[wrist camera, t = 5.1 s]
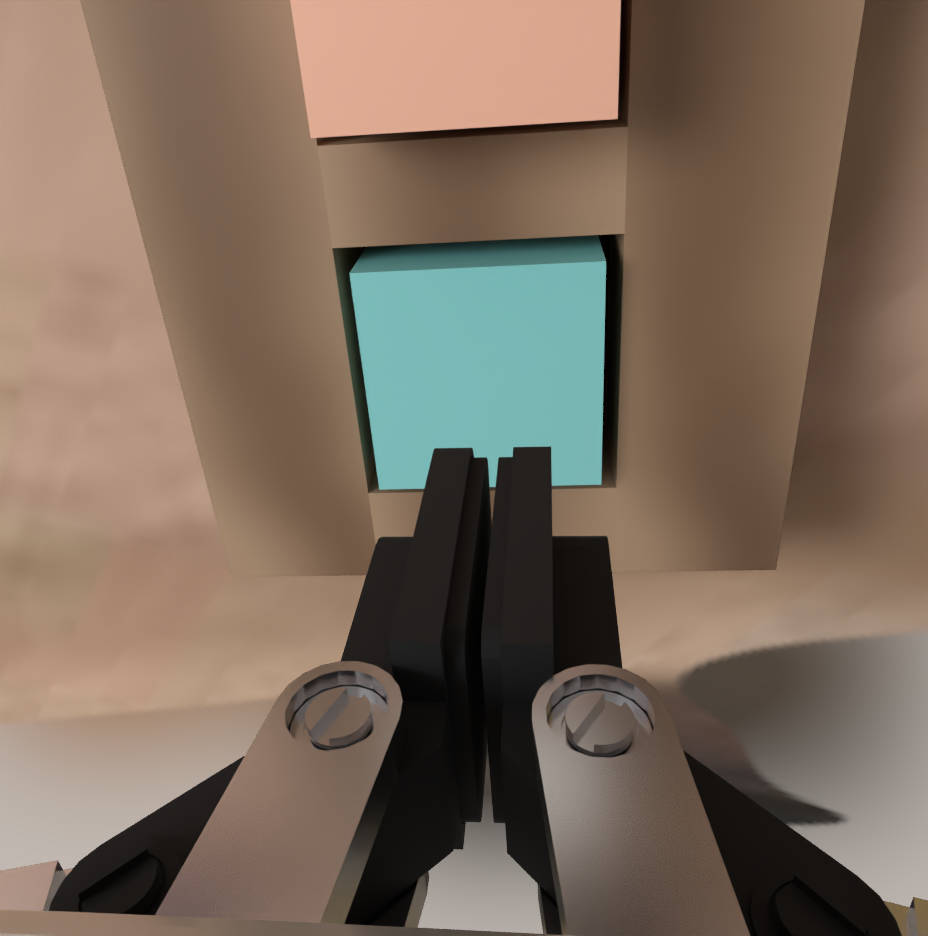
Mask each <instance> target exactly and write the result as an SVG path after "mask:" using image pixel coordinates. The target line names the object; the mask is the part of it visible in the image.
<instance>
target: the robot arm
mask: <svg viewBox="0 0 928 936" xmlns="http://www.w3.org/2000/svg"><path fill="white" fill-rule="evenodd" d="M487 742H488V753H489V766H490V779H491V792H492V805H493V818H494V823H505V825H506V840H507V853H508V854H509V855H510V856H511V857H512V858H513V859H514V860H515V861H516V862H517V863H518V864H519V865H520V866H521V867H522V868H523V869H524V870H525V871H526V872H527V873H528V874H529V875H530V876H531V877H532V878H533V879H534V880H535V881H536V882H537V883H538V901H539V908H540V914H541V922H542V928H543V934H530V933H529V934H528V933H510V932H490V931H470V930H451V929H431V928H417V927H418V924H419V920H420V917H421V913H422V909H423V906H424V903H425V899H426V896H427V890H428V882H429V872H428V871H429V870H430V869H431V868H433V867H434V866H435V865H436V864H438V863H439V862H440V861H441V860H442V859H444V858H445V857H446V856H447V855H449V854H450V853H451V852H452V851H453V849H463V844H464V834H465V824H466V822H481V818H482V808H483V794H484V781H485V768H486V755H487ZM0 936H928V901H927V900H922V899H919V898H915V897H913V900H912V902H911V905H910V907H906V906H902V905H898V904H894V903H890V902H886V901H883V900H882V899H881V897H880V896H879V895H878V894H877V893H876V892H874V890H872V889H871V888H870V887H869V886H868V885H867V884H866V883H865V882H864V881H862V880H861V879H860V878H859V877H858V876H857V875H855V874H854V873H853V872H851V871H850V870H848V869H847V868H846V867H844V866H843V865H842V864H840V863H839V862H837V861H836V860H835V859H833V858H832V857H830V856H829V855H828V854H826V853H825V852H823V851H822V850H820V849H819V848H818V847H816V846H815V845H814V844H812V843H811V842H810V841H808V840H807V839H805V838H804V837H803V836H801V835H800V834H798V833H797V832H796V831H794V830H793V829H792V828H790V827H789V826H787V825H786V824H785V823H783V822H782V821H780V820H779V819H778V818H776V817H775V816H774V815H772V814H771V813H769V812H768V811H767V810H765V809H764V808H762V807H761V806H760V805H758V804H757V803H756V802H754V801H753V800H751V799H750V798H749V797H747V796H746V795H744V794H743V793H742V792H740V791H739V790H737V789H736V788H735V787H733V786H732V785H731V784H729V783H728V782H726V781H725V780H724V779H722V778H721V777H719V776H718V775H717V774H715V773H714V772H713V771H711V770H710V769H708V768H707V767H706V766H704V765H703V764H701V763H700V762H699V761H697V760H696V759H694V758H693V757H692V756H690V755H689V754H688V753H686V752H685V751H683V749H682V746H681V743H680V741H679V738H678V735H677V732H676V729H675V727H674V724H673V721H672V718H671V716H670V713H669V710H668V707H667V706H666V704H665V702H664V700H663V699H662V697H661V695H660V693H659V692H658V691H657V690H656V689H655V688H654V687H653V686H652V685H651V684H650V683H648V682H647V681H646V680H645V679H644V678H642V677H640V676H638V675H636V674H634V673H632V672H630V671H628V670H626V669H622V661H621V652H620V643H619V634H618V624H617V615H616V606H615V597H614V588H613V579H612V570H611V560H610V551H609V543H608V537H607V536H552V467H551V446H548V447H513V457H499V458H498V467H497V477H496V487H495V498H494V508H493V518H492V519H491V502H490V486H489V469H488V459H487V457H477V458H474V453H473V449H472V448H435V449H434V451H433V454H432V459H431V463H430V467H429V471H428V476H427V480H426V484H425V488H424V492H423V497H422V501H421V505H420V509H419V514H418V518H417V522H416V526H415V530H414V535H413V537H380V538H379V539H378V541H377V543H376V545H375V549H374V552H373V555H372V559H371V562H370V565H369V569H368V572H367V575H366V579H365V582H364V585H363V589H362V592H361V595H360V599H359V602H358V606H357V609H356V612H355V616H354V619H353V622H352V626H351V629H350V632H349V636H348V639H347V642H346V646H345V649H344V652H343V656H342V659H341V661H339V662H334V663H330V664H325V665H321V666H319V667H316V668H314V669H312V670H310V671H308V672H305V673H303V674H302V675H301V676H299V677H298V678H297V679H295V680H294V681H293V682H291V683H290V684H289V685H288V686H287V687H286V688H285V690H284V691H283V692H282V693H281V695H280V696H279V697H278V699H277V700H276V702H275V704H274V705H273V707H272V709H271V711H270V712H269V714H268V716H267V718H266V719H265V721H264V723H263V725H262V727H261V728H260V730H259V732H258V734H257V735H256V738H255V739H254V741H253V743H252V744H251V746H250V748H249V750H248V752H247V753H246V755H245V756H243V757H242V758H240V759H239V760H237V761H235V762H234V763H232V764H230V765H229V766H227V767H226V768H224V769H222V770H221V771H219V772H218V773H216V774H215V775H213V776H211V777H210V778H208V779H206V780H205V781H203V782H201V783H200V784H198V785H197V786H195V787H193V788H192V789H190V790H189V791H187V792H185V793H184V794H182V795H180V796H179V797H177V798H176V799H174V800H172V801H171V802H169V803H168V804H166V805H165V806H163V807H161V808H160V809H158V810H156V811H155V812H153V813H152V814H150V815H148V816H147V817H145V818H143V819H142V820H140V821H139V822H137V823H135V824H134V825H132V826H131V827H129V828H127V829H126V830H124V831H123V832H121V833H119V834H118V835H116V836H114V837H113V838H111V839H110V840H108V841H106V842H105V843H103V844H102V845H100V846H99V847H97V848H96V849H95V850H94V851H92V852H91V853H90V854H88V855H87V856H86V857H84V858H83V859H82V860H81V861H79V862H78V864H77V865H76V866H75V867H74V868H72V869H66V870H63V869H62V867H61V866H60V864H59V862H58V861H52V862H47V863H41V864H35V865H31V866H24V867H19V868H14V869H8V870H2V871H0Z"/></svg>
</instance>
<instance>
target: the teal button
mask: <svg viewBox="0 0 928 936" xmlns="http://www.w3.org/2000/svg"><path fill="white" fill-rule="evenodd" d="M349 274H350V281H351V289H352V296H353V303H354V310H355V318H356V325H357V332H358V339H359V347H360V354H361V361H362V368H363V375H364V383H365V390H366V397H367V404H368V412H369V419H370V426H371V433H372V440H373V448H374V455H375V462H376V469H377V477H378V484H379V490H386V489H424V488H425V484H426V480H427V476H428V471H429V467H430V463H431V459H432V454H433V451H434V449H435V448H472V449H473V453H474V458H477V457H487V459H488V469H489V486H490V487H496V477H497V467H498V458H499V457H513V447H548V446H551V467H552V486H562V485H601V479H602V432H603V386H604V340H605V293H606V259H605V256H604V253H603V249H602V246H601V243H600V240H599V236H598V235H588V236H568V237H548V238H528V239H508V240H487V241H467V242H447V243H427V244H407V245H387V246H367V247H366V248H365V250H364V251H363V253H362V254H361V256H360V257H359V259H358V261H357V262H356V264H355V265H354V267H353V268H352V270H351V271H350V273H349Z"/></svg>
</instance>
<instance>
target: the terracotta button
mask: <svg viewBox="0 0 928 936" xmlns="http://www.w3.org/2000/svg"><path fill="white" fill-rule="evenodd" d="M290 3H291V10H292V17H293V23H294V30H295V37H296V43H297V50H298V57H299V63H300V70H301V77H302V83H303V90H304V97H305V103H306V110H307V117H308V123H309V130H310V137H311V138H321V137H337V136H353V135H369V134H385V133H401V132H417V131H433V130H449V129H466V128H482V127H498V126H514V125H530V124H546V123H562V122H578V121H594V120H610V119H618V89H619V51H620V13H621V0H290Z"/></svg>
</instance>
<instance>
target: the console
mask: <svg viewBox="0 0 928 936" xmlns="http://www.w3.org/2000/svg"><path fill="white" fill-rule="evenodd" d="M80 1H81V5H82V9H83V13H84V16H85V20H86V24H87V28H88V32H89V36H90V39H91V43H92V47H93V51H94V55H95V59H96V62H97V66H98V70H99V74H100V78H101V81H102V85H103V89H104V93H105V97H106V101H107V104H108V108H109V112H110V116H111V120H112V123H113V127H114V131H115V135H116V139H117V143H118V146H119V150H120V154H121V158H122V162H123V166H124V169H125V173H126V177H127V181H128V185H129V188H130V192H131V196H132V200H133V204H134V208H135V211H136V215H137V219H138V223H139V227H140V230H141V234H142V238H143V242H144V246H145V250H146V253H147V257H148V261H149V265H150V269H151V273H152V276H153V280H154V284H155V288H156V292H157V295H158V299H159V303H160V307H161V311H162V315H163V318H164V322H165V326H166V330H167V334H168V337H169V341H170V345H171V349H172V353H173V357H174V360H175V364H176V368H177V372H178V376H179V380H180V383H181V387H182V391H183V395H184V399H185V402H186V406H187V410H188V414H189V418H190V422H191V425H192V429H193V433H194V437H195V441H196V444H197V448H198V452H199V456H200V460H201V464H202V467H203V471H204V475H205V479H206V483H207V487H208V490H209V494H210V498H211V502H212V506H213V509H214V513H215V517H216V521H217V525H218V529H219V532H220V536H221V540H222V544H223V548H224V551H225V555H226V559H227V563H228V567H229V571H230V574H231V577H262V576H338V575H367V572H368V569H369V565H370V562H371V559H372V555H373V552H374V549H375V545H376V543H377V541H378V539H379V538H380V537H413V535H414V530H415V526H416V522H417V518H418V514H419V509H420V505H421V501H422V497H423V492H424V489H386V490H379V484H378V477H377V469H376V462H375V455H374V448H373V440H372V433H371V426H370V419H369V412H368V404H367V397H366V390H365V383H364V375H363V368H362V361H361V354H360V347H359V339H358V332H357V325H356V318H355V310H354V303H353V296H352V289H351V281H350V274H349V273H350V271H351V270H352V268H353V267H354V265H355V264H356V262H357V261H358V259H359V257H360V256H361V254H362V253H363V250H362V247H367V246H387V245H407V244H427V243H447V242H467V241H487V240H508V239H528V238H548V237H568V236H588V235H608V234H610V259H609V301H608V343H607V386H606V428H605V430H603V432H602V479H601V485H562V486H552V536H607V537H608V543H609V551H610V560H611V570H612V572H641V571H717V570H776V567H777V560H778V554H779V548H780V541H781V535H782V528H783V522H784V516H785V509H786V503H787V496H788V490H789V484H790V477H791V471H792V465H793V458H794V452H795V445H796V439H797V433H798V426H799V420H800V413H801V407H802V401H803V394H804V388H805V382H806V375H807V369H808V362H809V356H810V350H811V343H812V337H813V330H814V324H815V318H816V311H817V305H818V299H819V292H820V286H821V279H822V273H823V267H824V260H825V254H826V247H827V241H828V235H829V228H830V222H831V216H832V209H833V203H834V196H835V190H836V184H837V177H838V171H839V164H840V158H841V152H842V145H843V139H844V133H845V126H846V120H847V113H848V107H849V101H850V94H851V88H852V81H853V75H854V69H855V62H856V56H857V49H858V43H859V37H860V30H861V24H862V18H863V11H864V5H865V0H621V13H620V51H619V89H618V119H610V120H594V121H578V122H562V123H546V124H530V125H514V126H498V127H482V128H466V129H449V130H433V131H417V132H401V133H385V134H369V135H353V136H337V137H321V138H311V137H310V130H309V123H308V117H307V110H306V103H305V97H304V90H303V83H302V77H301V70H300V63H299V57H298V50H297V43H296V37H295V30H294V23H293V17H292V10H291V3H290V0H80ZM494 498H495V487H490V502H491V519H492V518H493V508H494Z"/></svg>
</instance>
